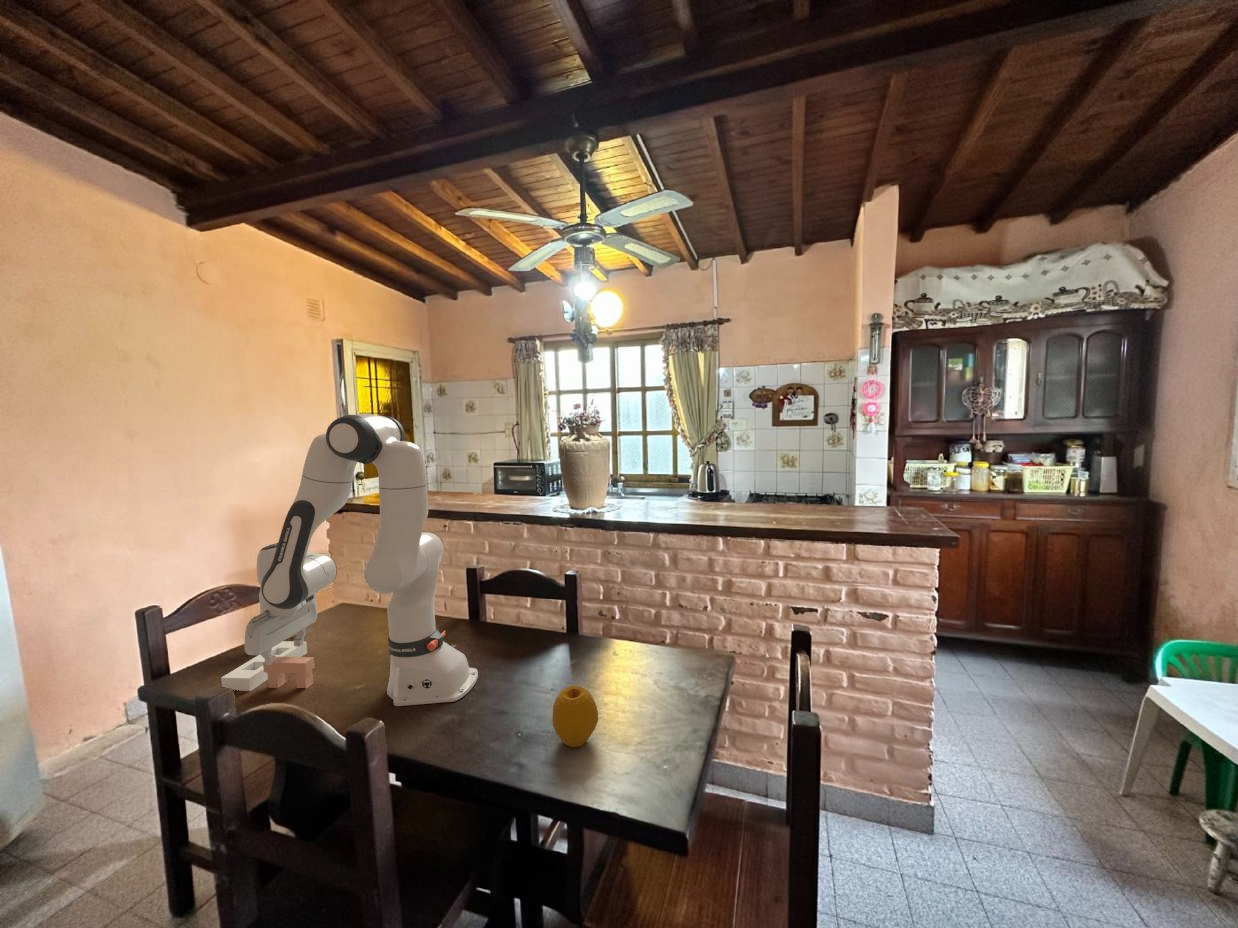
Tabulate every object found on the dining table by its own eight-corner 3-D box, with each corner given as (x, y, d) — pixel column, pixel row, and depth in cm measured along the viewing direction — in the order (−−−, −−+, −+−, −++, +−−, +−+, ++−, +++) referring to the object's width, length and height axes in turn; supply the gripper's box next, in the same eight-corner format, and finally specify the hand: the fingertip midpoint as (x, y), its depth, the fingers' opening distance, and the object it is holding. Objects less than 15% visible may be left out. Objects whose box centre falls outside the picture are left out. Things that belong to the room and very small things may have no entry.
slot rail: (307, 652, 144) (306, 641, 144) (250, 690, 125) (249, 678, 124) (283, 652, 145) (281, 641, 145) (222, 690, 125) (221, 677, 125)
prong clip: (275, 681, 129) (272, 656, 128) (316, 682, 128) (313, 657, 127) (265, 688, 126) (262, 662, 125) (308, 689, 125) (305, 663, 124)
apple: (608, 738, 102) (606, 687, 101) (575, 764, 95) (572, 709, 94) (577, 720, 109) (575, 671, 107) (543, 743, 101) (541, 691, 100)
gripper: (258, 621, 114) (263, 676, 115) (320, 589, 134) (323, 636, 135) (234, 620, 114) (239, 674, 116) (299, 588, 135) (302, 635, 136)
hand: (285, 653), depth 126 cm, fingers open, 8 cm apart
